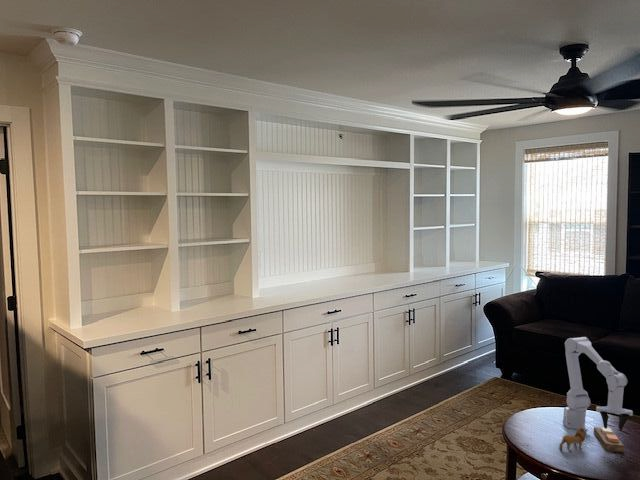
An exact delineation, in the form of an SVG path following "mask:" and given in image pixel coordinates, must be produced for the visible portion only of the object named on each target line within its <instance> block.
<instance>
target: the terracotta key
mask: <svg viewBox="0 0 640 480" xmlns="http://www.w3.org/2000/svg"><path fill="white" fill-rule="evenodd" d="M616 436H617V435H616V434H615V435H611V434H606V437H605V438H606V440H607V441H608V442H616V443H618V438H619V437H618V436H617V437H618V438H617V437H616Z"/></svg>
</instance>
